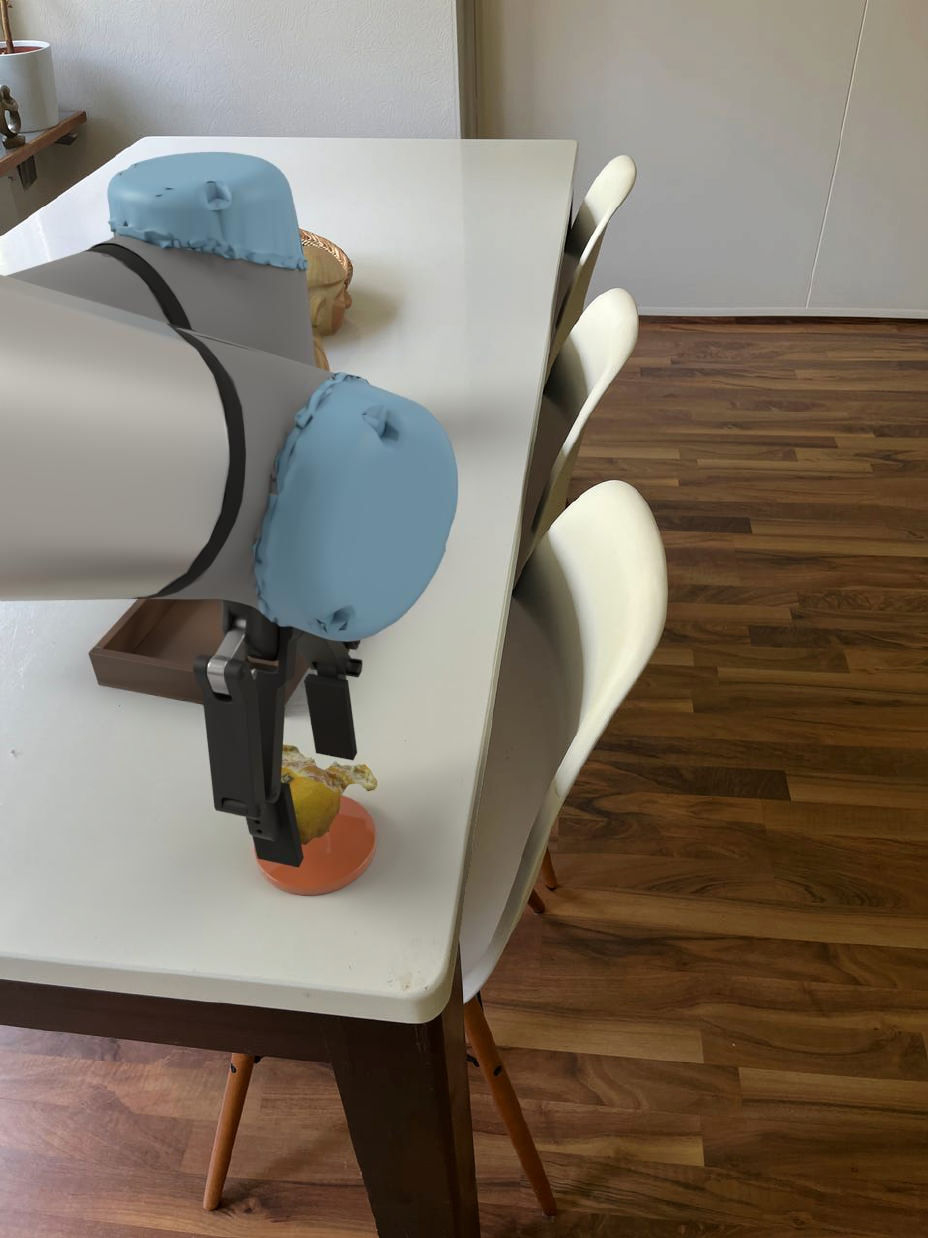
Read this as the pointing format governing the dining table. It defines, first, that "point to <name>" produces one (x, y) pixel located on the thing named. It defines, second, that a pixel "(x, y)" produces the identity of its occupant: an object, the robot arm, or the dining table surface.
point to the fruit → (319, 790)
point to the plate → (329, 855)
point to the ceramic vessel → (325, 298)
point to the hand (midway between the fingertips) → (310, 802)
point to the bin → (166, 648)
